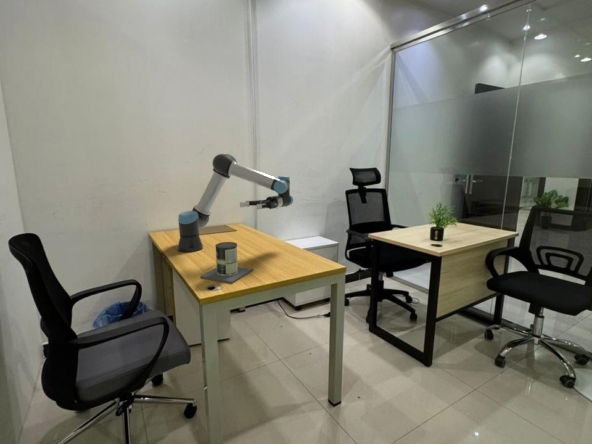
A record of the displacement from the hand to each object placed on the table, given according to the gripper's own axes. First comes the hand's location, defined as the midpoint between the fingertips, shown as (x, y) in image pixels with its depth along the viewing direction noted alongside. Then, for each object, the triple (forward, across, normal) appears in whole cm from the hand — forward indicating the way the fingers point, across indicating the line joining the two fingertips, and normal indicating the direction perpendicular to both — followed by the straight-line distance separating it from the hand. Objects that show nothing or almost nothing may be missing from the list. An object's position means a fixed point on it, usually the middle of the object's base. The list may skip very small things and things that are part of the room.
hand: (248, 205), depth 176 cm
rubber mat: (+27, -13, -30) cm, 42 cm away
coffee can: (+27, -13, -29) cm, 42 cm away
